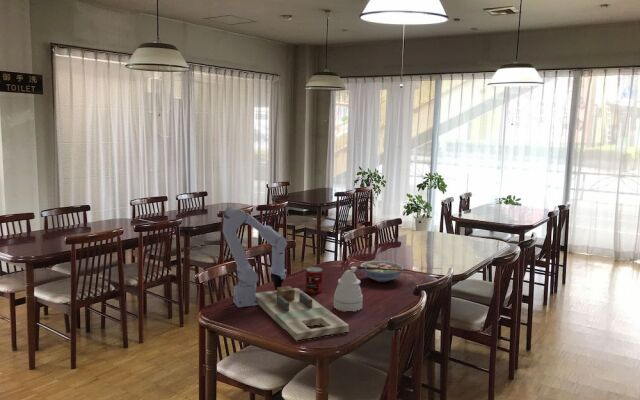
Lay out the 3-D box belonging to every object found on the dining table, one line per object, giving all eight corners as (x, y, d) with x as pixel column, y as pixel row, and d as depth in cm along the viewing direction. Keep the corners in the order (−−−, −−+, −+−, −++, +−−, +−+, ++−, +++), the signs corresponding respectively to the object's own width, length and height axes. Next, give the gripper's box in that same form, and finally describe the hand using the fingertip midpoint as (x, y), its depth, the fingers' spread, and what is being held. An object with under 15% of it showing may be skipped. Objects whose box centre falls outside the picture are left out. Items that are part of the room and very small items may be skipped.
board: (296, 341, 191) (296, 324, 190) (253, 299, 236) (253, 285, 235) (348, 332, 201) (349, 316, 200) (297, 293, 245) (297, 280, 245)
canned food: (302, 292, 248) (303, 269, 247) (310, 287, 256) (311, 266, 254) (316, 294, 245) (317, 272, 243) (324, 290, 252) (325, 268, 250)
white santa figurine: (360, 301, 237) (362, 263, 234) (363, 311, 224) (365, 271, 221) (332, 301, 236) (333, 263, 234) (334, 311, 224) (335, 271, 221)
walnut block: (281, 301, 226) (281, 291, 225) (276, 297, 231) (276, 287, 230) (294, 299, 228) (294, 289, 228) (289, 295, 234) (289, 285, 233)
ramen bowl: (404, 275, 282) (404, 260, 280) (406, 287, 259) (407, 272, 258) (358, 272, 284) (358, 258, 283) (356, 285, 261) (357, 269, 260)
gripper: (292, 264, 231) (291, 293, 233) (280, 256, 244) (280, 284, 246) (277, 265, 228) (277, 295, 230) (266, 258, 241) (266, 286, 243)
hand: (277, 290), depth 238 cm, fingers closed
